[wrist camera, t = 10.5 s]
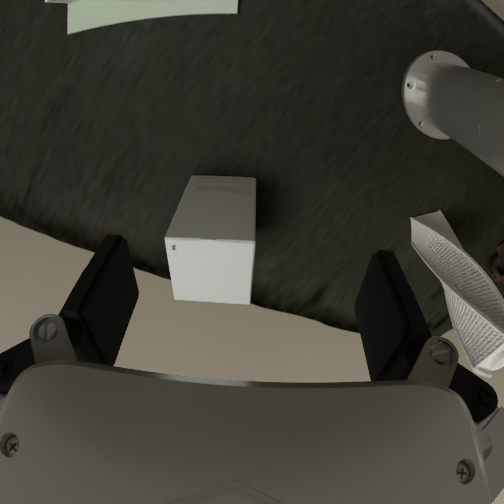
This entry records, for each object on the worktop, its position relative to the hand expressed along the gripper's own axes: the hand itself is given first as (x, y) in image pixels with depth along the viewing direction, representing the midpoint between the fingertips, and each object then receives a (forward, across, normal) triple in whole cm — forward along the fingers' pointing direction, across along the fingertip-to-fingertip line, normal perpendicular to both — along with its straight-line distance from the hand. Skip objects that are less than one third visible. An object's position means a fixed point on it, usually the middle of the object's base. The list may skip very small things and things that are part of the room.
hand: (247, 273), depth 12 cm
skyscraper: (+31, -28, +15) cm, 44 cm away
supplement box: (+31, +4, +14) cm, 34 cm away
